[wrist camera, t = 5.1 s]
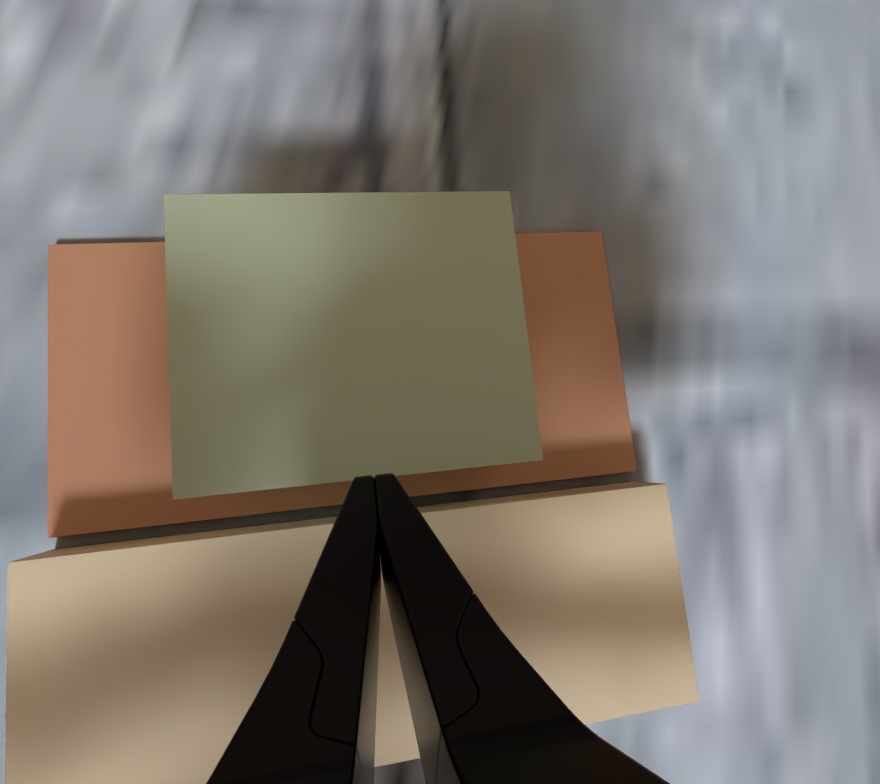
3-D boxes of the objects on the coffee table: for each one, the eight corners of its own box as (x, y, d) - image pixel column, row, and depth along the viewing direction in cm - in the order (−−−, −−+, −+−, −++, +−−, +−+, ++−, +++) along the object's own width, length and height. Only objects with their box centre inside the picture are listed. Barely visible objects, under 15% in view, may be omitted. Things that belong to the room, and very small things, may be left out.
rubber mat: (632, 470, 19) (637, 470, 18) (53, 536, 15) (47, 538, 15) (598, 234, 20) (601, 231, 19) (53, 248, 16) (48, 244, 16)
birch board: (662, 674, 18) (699, 701, 16) (53, 790, 14) (4, 843, 12) (634, 481, 18) (665, 483, 17) (53, 549, 15) (7, 562, 13)
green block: (543, 460, 13) (509, 190, 13) (173, 499, 11) (163, 194, 12) (493, 459, 17) (471, 262, 18) (231, 487, 16) (221, 270, 17)
